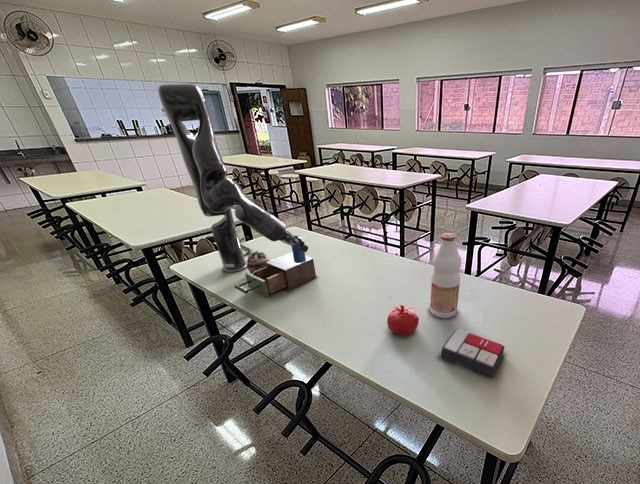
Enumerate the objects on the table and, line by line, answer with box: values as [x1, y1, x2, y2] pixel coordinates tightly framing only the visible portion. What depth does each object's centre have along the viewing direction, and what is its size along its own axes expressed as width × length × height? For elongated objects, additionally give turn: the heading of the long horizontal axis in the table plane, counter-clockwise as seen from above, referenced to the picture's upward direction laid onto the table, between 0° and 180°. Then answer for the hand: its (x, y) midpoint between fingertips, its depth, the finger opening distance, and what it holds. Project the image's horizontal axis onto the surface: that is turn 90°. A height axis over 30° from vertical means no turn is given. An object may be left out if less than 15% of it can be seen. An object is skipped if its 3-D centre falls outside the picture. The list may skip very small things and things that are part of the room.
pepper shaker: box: [290, 235, 307, 263], centre depth 118 cm, size 4×4×9 cm
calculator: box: [440, 328, 505, 377], centre depth 91 cm, size 11×4×15 cm
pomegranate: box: [386, 304, 420, 336], centre depth 101 cm, size 10×10×9 cm
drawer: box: [233, 266, 287, 299], centre depth 122 cm, size 19×12×7 cm, turn 144°
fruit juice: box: [429, 232, 462, 319], centre depth 105 cm, size 9×9×28 cm
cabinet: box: [266, 252, 317, 291], centre depth 132 cm, size 14×13×9 cm
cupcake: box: [246, 250, 270, 275], centre depth 135 cm, size 10×10×10 cm
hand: (302, 248), depth 119 cm, fingers closed on pepper shaker, 4 cm apart
